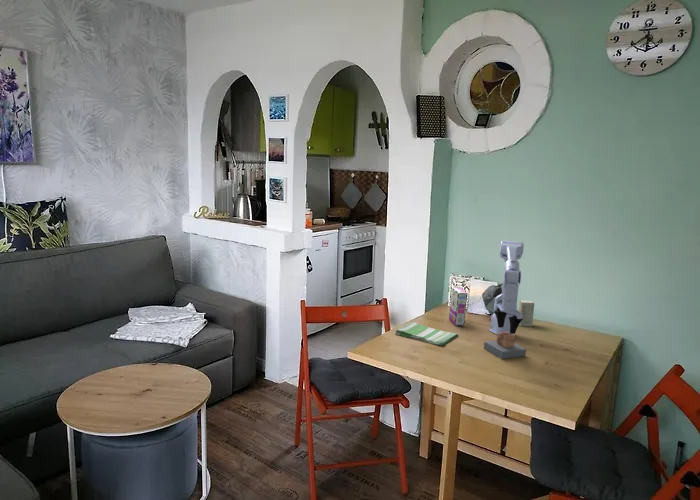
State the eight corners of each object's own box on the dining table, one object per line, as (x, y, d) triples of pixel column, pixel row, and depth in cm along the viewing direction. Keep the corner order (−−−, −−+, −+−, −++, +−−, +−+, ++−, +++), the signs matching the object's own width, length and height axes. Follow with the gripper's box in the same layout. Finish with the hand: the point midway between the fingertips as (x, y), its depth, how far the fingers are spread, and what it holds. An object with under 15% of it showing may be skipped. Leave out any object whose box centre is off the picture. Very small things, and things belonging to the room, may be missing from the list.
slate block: (483, 348, 216) (484, 341, 216) (506, 345, 221) (507, 339, 220) (501, 358, 206) (502, 351, 205) (525, 355, 210) (526, 349, 210)
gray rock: (473, 318, 259) (476, 284, 256) (486, 312, 270) (489, 279, 267) (499, 325, 250) (503, 289, 247) (512, 318, 261) (515, 284, 258)
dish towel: (442, 347, 216) (442, 341, 216) (394, 335, 229) (394, 329, 228) (458, 337, 231) (458, 331, 230) (412, 326, 243) (412, 320, 243)
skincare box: (530, 324, 254) (533, 300, 252) (532, 326, 250) (535, 303, 247) (517, 323, 254) (519, 299, 252) (519, 325, 250) (521, 302, 248)
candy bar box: (465, 326, 246) (468, 293, 243) (454, 325, 245) (457, 293, 242) (458, 319, 257) (461, 287, 254) (448, 318, 256) (451, 287, 253)
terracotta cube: (496, 343, 214) (497, 332, 213) (506, 342, 216) (507, 331, 215) (504, 347, 210) (505, 336, 209) (514, 346, 212) (515, 335, 211)
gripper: (491, 294, 214) (487, 325, 217) (513, 304, 201) (510, 336, 204) (504, 293, 217) (501, 324, 219) (528, 303, 204) (524, 335, 206)
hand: (506, 330), depth 212 cm, fingers open, 7 cm apart
